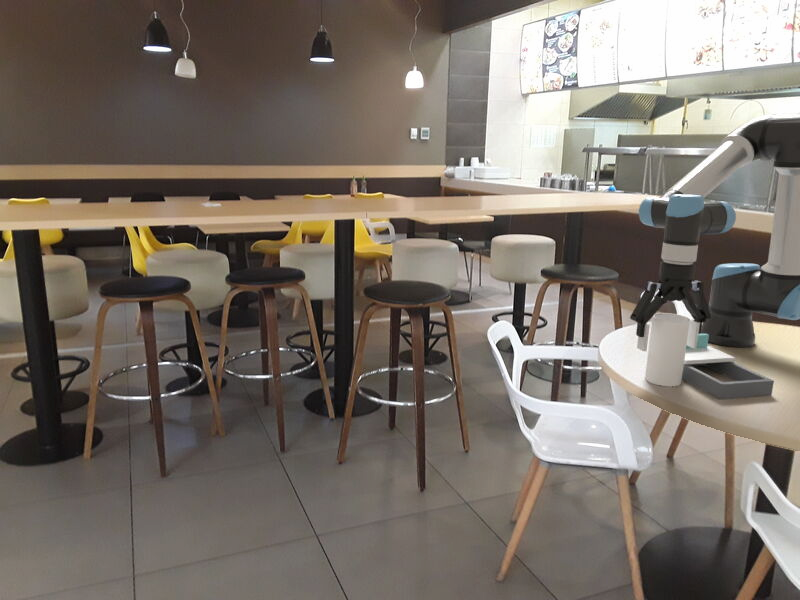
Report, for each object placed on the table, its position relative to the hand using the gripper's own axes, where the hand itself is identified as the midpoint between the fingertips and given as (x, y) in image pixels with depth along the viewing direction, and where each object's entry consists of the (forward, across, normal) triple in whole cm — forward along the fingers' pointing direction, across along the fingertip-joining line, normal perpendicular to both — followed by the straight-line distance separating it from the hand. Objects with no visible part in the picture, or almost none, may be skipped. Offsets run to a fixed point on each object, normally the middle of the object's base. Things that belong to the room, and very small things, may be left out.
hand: (666, 348), depth 151 cm
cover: (+4, -12, -4) cm, 14 cm away
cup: (+8, 0, 0) cm, 8 cm away
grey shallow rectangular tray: (+8, -12, +2) cm, 15 cm away
